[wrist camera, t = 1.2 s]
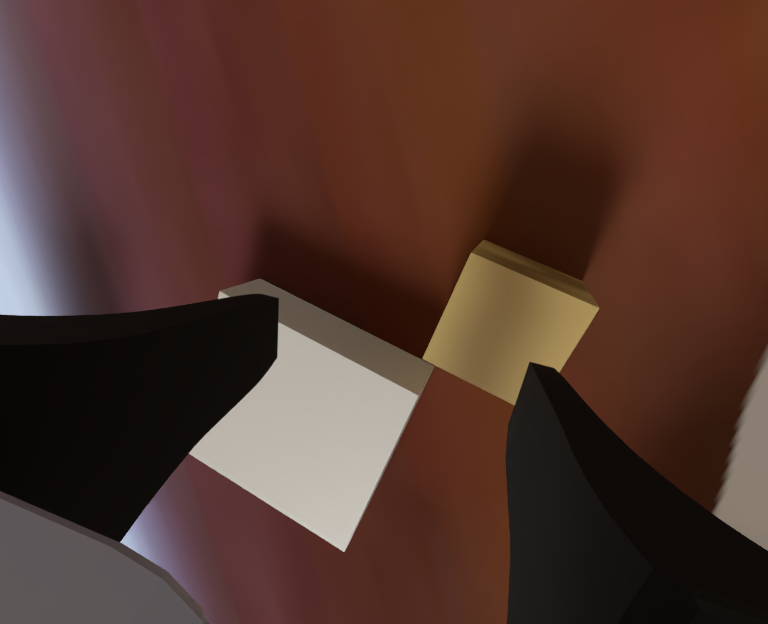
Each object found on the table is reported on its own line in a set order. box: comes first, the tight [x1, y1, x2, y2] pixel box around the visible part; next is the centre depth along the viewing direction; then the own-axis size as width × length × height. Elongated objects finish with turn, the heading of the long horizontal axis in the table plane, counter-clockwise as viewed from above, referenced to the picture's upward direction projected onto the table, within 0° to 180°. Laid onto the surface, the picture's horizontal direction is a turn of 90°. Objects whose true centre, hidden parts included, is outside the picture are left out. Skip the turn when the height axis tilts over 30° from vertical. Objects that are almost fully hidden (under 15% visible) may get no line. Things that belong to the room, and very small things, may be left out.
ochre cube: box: [422, 240, 599, 405], centre depth 18 cm, size 5×5×5 cm
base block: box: [189, 279, 434, 552], centre depth 24 cm, size 12×12×4 cm
